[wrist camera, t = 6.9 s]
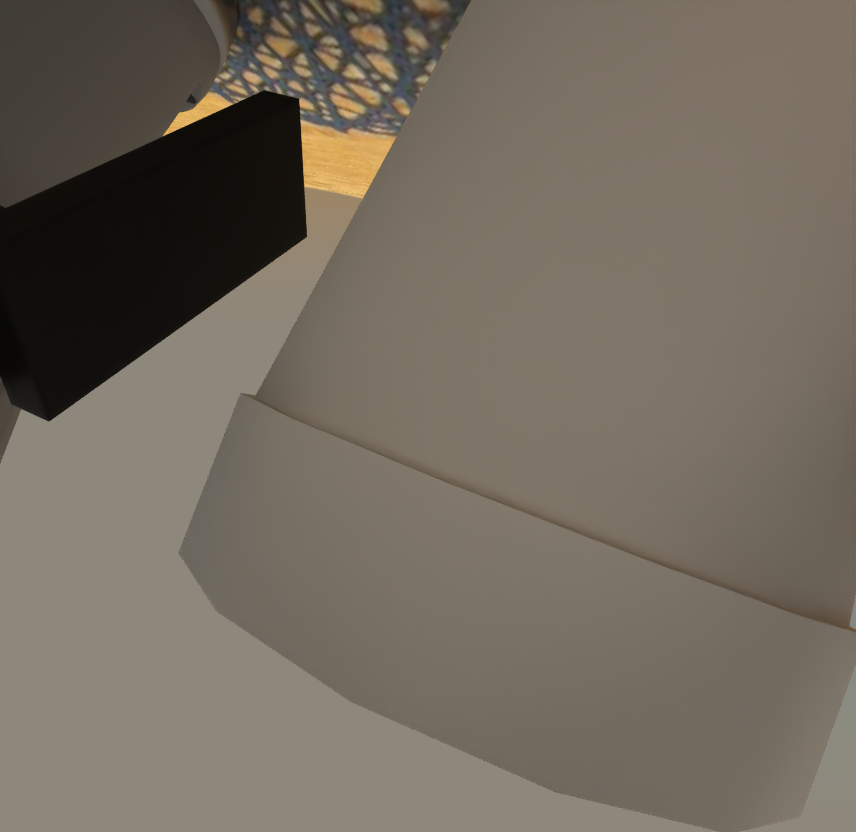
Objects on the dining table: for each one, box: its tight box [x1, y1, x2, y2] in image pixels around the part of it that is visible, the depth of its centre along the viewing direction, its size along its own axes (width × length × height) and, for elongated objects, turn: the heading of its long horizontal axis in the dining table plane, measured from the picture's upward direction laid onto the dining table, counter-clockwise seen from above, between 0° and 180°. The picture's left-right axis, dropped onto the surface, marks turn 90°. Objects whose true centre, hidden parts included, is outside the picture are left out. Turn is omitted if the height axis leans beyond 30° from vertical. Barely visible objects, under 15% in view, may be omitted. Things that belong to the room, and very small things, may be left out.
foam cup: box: [179, 0, 856, 832], centre depth 12 cm, size 10×9×13 cm
